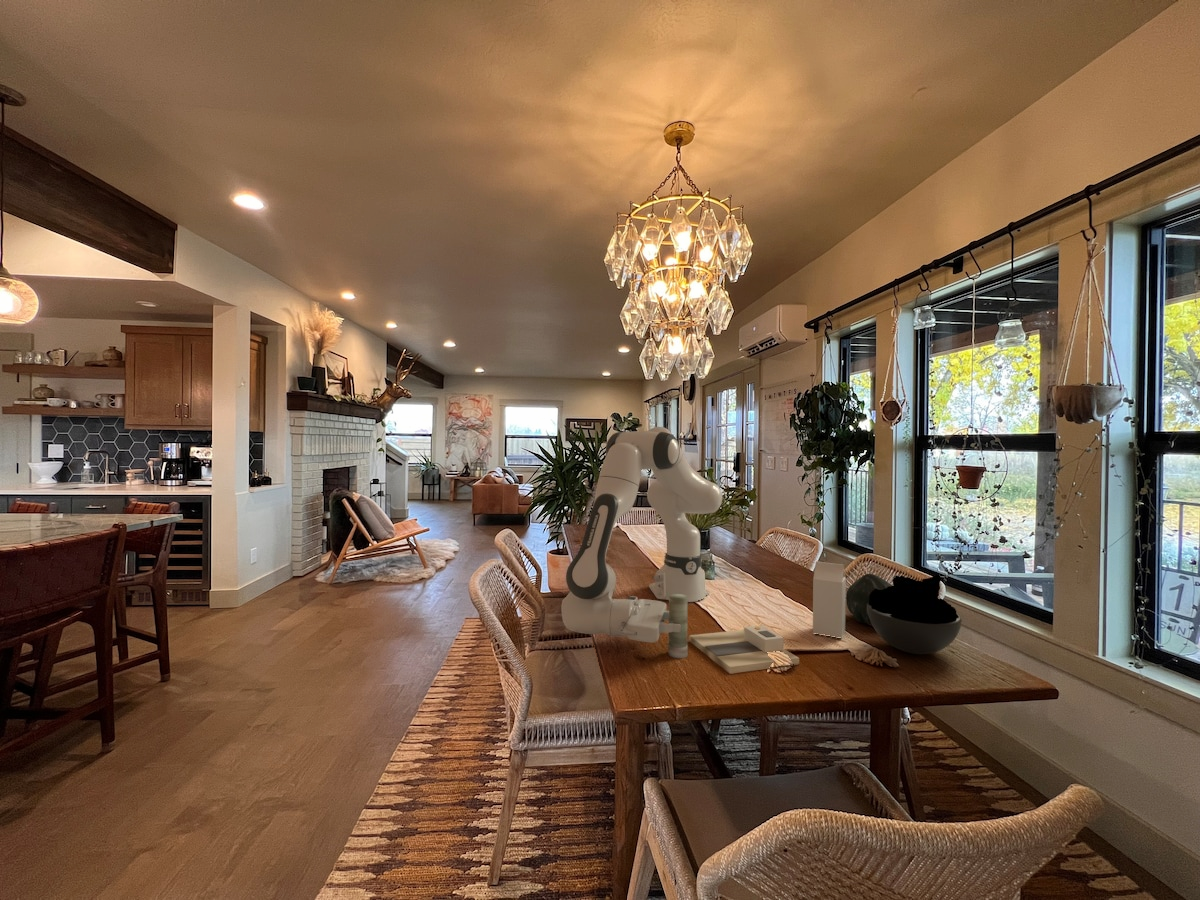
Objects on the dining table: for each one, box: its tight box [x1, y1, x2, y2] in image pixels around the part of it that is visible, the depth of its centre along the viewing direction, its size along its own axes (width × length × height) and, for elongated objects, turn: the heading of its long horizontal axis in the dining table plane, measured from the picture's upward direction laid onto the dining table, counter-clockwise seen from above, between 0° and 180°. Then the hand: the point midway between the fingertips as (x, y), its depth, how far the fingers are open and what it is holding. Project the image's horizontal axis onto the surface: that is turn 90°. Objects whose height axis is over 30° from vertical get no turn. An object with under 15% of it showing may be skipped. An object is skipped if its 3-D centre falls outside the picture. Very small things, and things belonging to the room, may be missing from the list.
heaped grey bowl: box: [867, 574, 963, 655], centre depth 129 cm, size 20×20×19 cm
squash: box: [845, 573, 893, 626], centre depth 151 cm, size 14×15×15 cm
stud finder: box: [743, 624, 784, 652], centre depth 129 cm, size 9×5×3 cm, turn 17°
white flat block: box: [688, 629, 800, 675], centre depth 128 cm, size 20×18×2 cm
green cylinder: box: [667, 594, 689, 659], centre depth 126 cm, size 5×5×14 cm
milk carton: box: [812, 561, 847, 639], centre depth 141 cm, size 7×7×19 cm
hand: (681, 622), depth 126 cm, fingers open, 5 cm apart
